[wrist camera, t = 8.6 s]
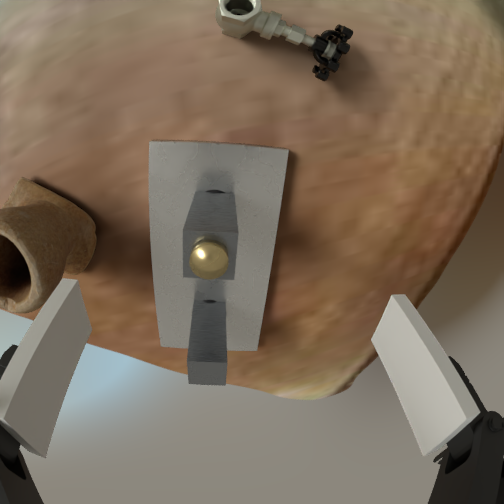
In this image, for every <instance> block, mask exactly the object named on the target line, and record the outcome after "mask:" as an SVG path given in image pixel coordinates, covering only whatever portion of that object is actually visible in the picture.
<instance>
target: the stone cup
mask: <svg viewBox="0 0 504 504" xmlns="http://www.w3.org/2000/svg"><path fill="white" fill-rule="evenodd" d="M95 230H96V226H95V223H94V221H93V220H92V218H91V217H90V216H89V215H88V214H87V213H86V212H85V211H83V210H82V209H80V208H79V207H78V206H76V205H75V204H73V203H72V202H70V201H69V200H67V199H65V198H63V197H61V196H59V195H57V194H56V193H54V192H52V191H50V190H48V189H46V188H44V187H42V186H40V185H38V184H36V183H34V182H32V181H31V180H29V179H26V178H24V177H21V178H20V179H19V180H18V182H17V183H16V185H15V187H14V189H13V191H12V193H11V194H10V196H9V199H8V201H7V202H6V203H5V204H4V205H3V207H2V208H1V209H0V308H3V309H5V310H8V311H10V312H13V313H29V312H32V311H35V310H37V309H39V308H40V307H41V306H42V305H43V304H44V303H45V302H46V301H47V300H48V299H49V297H50V296H51V294H52V293H53V291H54V290H55V288H56V287H57V286H58V284H59V283H60V281H61V279H62V276H63V273H64V272H65V273H68V274H72V275H76V274H79V273H81V272H83V270H84V269H85V268H86V267H87V265H88V264H89V262H90V260H91V259H92V256H93V254H94V250H95V247H96V242H97V238H96V234H95Z"/></svg>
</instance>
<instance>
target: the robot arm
mask: <svg viewBox="0 0 504 504" xmlns="http://www.w3.org/2000/svg"><path fill="white" fill-rule="evenodd" d="M91 331H92V328H91V325H90V322H89V318H88V315H87V312H86V308H85V305H84V301H83V298H82V294H81V290H80V287H79V283H78V280H74V279H65V278H63V279H62V280H61V281H60V283H59V284H58V286H57V287H56V288H55V290H54V291H53V293H52V294H51V296H50V297H49V299H48V300H47V301H46V303H45V304H44V306H43V307H42V309H41V310H40V312H39V314H38V315H37V317H36V318H35V320H34V321H33V323H32V324H31V326H30V328H29V329H28V331H27V333H26V334H25V336H24V338H23V339H22V341H21V343H20V345H19V346H17V345H12V346H11V347H10V348H9V349H8V350H7V351H5V352H4V354H3V355H2V357H1V359H0V504H44V503H43V501H42V499H41V497H40V495H39V493H38V491H37V489H36V486H35V484H34V482H33V480H32V478H31V475H30V473H29V470H28V468H27V465H26V463H25V460H24V457H23V455H22V453H21V451H20V450H19V448H20V445H22V446H23V447H24V448H26V449H27V450H28V451H29V452H32V453H34V454H36V455H39V456H41V457H44V458H46V454H47V451H48V447H49V444H50V440H51V436H52V433H53V430H54V427H55V424H56V421H57V418H58V415H59V412H60V409H61V406H62V403H63V400H64V397H65V395H66V392H67V389H68V387H69V384H70V381H71V379H72V376H73V374H74V371H75V369H76V366H77V364H78V361H79V359H80V356H81V354H82V351H83V349H84V347H85V344H86V342H87V340H88V338H89V336H90V333H91ZM371 340H372V342H373V344H374V347H375V349H376V351H377V353H378V355H379V357H380V359H381V361H382V363H383V365H384V367H385V369H386V371H387V374H388V376H389V378H390V380H391V382H392V384H393V387H394V389H395V391H396V393H397V395H398V398H399V400H400V402H401V404H402V407H403V409H404V411H405V414H406V416H407V418H408V421H409V423H410V425H411V428H412V430H413V433H414V435H415V437H416V440H417V442H418V445H419V447H420V450H421V453H422V455H423V456H426V455H428V454H430V453H433V452H435V451H437V450H439V449H440V448H441V447H443V446H444V445H445V444H447V446H448V448H447V449H445V450H444V451H443V452H441V453H440V454H439V455H438V456H436V457H435V459H434V461H433V462H436V461H438V460H439V459H440V458H442V457H443V458H442V460H440V461H439V463H438V464H441V465H440V469H439V472H438V475H437V479H436V482H435V485H434V488H433V491H432V493H431V496H430V499H429V502H428V504H504V458H503V456H504V418H502V417H501V415H500V414H498V413H497V412H495V411H489V412H488V411H487V410H486V409H485V407H484V405H483V403H482V402H481V400H480V398H479V397H478V395H477V393H476V391H475V390H474V388H473V386H472V384H471V383H469V379H468V378H467V376H465V373H464V371H463V370H462V368H461V367H460V365H459V364H458V363H457V362H456V361H455V360H454V359H453V358H452V357H450V356H449V357H448V356H447V355H446V353H445V352H444V350H443V349H442V347H441V346H440V344H439V342H438V341H437V339H436V338H435V336H434V335H433V333H432V332H431V330H430V329H429V328H428V326H427V325H426V323H425V322H424V320H423V319H422V317H421V316H420V315H419V313H418V312H417V310H416V309H415V308H414V306H413V305H412V303H411V302H410V301H409V299H408V298H407V297H406V295H405V294H404V295H391V298H390V300H389V302H388V305H387V307H386V309H385V311H384V314H383V316H382V318H381V320H380V322H379V324H378V326H377V329H376V331H375V333H374V335H373V337H372V339H371Z"/></svg>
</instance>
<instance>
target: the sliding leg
mask: <svg viewBox="0 0 504 504" xmlns="http://www.w3.org/2000/svg"><path fill="white" fill-rule="evenodd" d="M238 234H239V232H238V223H237V213H236V203H235V194H231V193H215V192H196V191H195V194H194V197H193V200H192V203H191V206H190V209H189V212H188V215H187V218H186V221H185V224H184V228H183V277H185V278H202V279H208V280H211V279H222V280H234V277H235V266H236V255H237V245H238Z"/></svg>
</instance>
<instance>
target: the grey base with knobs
mask: <svg viewBox="0 0 504 504" xmlns="http://www.w3.org/2000/svg"><path fill="white" fill-rule="evenodd" d="M288 152H289V150H288V149H286V148H281V147H272V146H263V145H253V144H242V143H229V142H213V141H192V140H152V141H149V219H150V241H151V258H152V271H153V283H154V293H155V303H156V312H157V320H158V328H159V336H160V343H161V346H162V347H175V348H188V356H187V367H188V380H189V384H201V385H226V373H227V350H235V351H257V347H258V342H259V336H260V330H261V325H262V319H263V313H264V307H265V301H266V295H267V289H268V283H269V277H270V271H271V265H272V259H273V253H274V246H275V240H276V234H277V227H278V221H279V214H280V207H281V201H282V194H283V187H284V180H285V173H286V166H287V159H288ZM195 191H196V192H215V193H231V194H235V203H236V213H237V223H238V232H239V234H238V245H237V255H236V266H235V277H234V280H222V279H211V280H208V279H202V278H185V277H183V228H184V224H185V221H186V218H187V215H188V212H189V209H190V206H191V203H192V200H193V197H194V194H195Z"/></svg>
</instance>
